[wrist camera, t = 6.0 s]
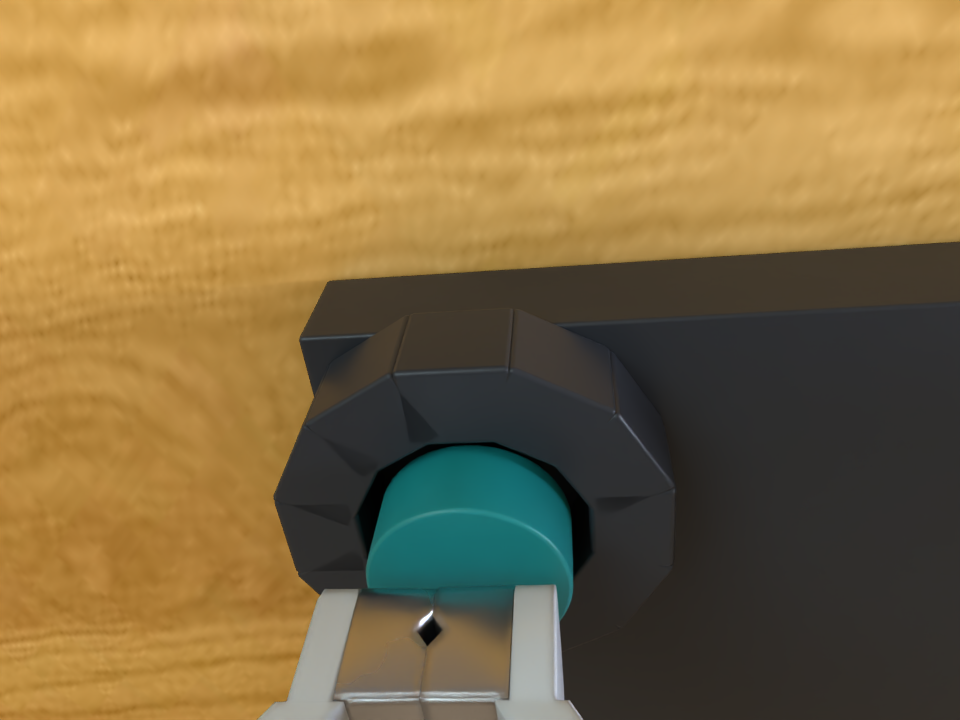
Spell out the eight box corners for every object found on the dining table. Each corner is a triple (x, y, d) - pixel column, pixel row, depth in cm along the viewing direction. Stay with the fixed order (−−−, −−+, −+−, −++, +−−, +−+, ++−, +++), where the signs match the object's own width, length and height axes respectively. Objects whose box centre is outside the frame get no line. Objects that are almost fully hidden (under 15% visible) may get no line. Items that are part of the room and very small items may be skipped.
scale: (413, 714, 20) (389, 864, 17) (301, 261, 13) (232, 381, 11) (1039, 717, 18) (1132, 886, 15) (1262, 198, 12) (1498, 321, 9)
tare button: (398, 583, 13) (383, 656, 12) (366, 446, 11) (346, 513, 10) (576, 581, 13) (577, 654, 11) (567, 439, 11) (568, 507, 10)
